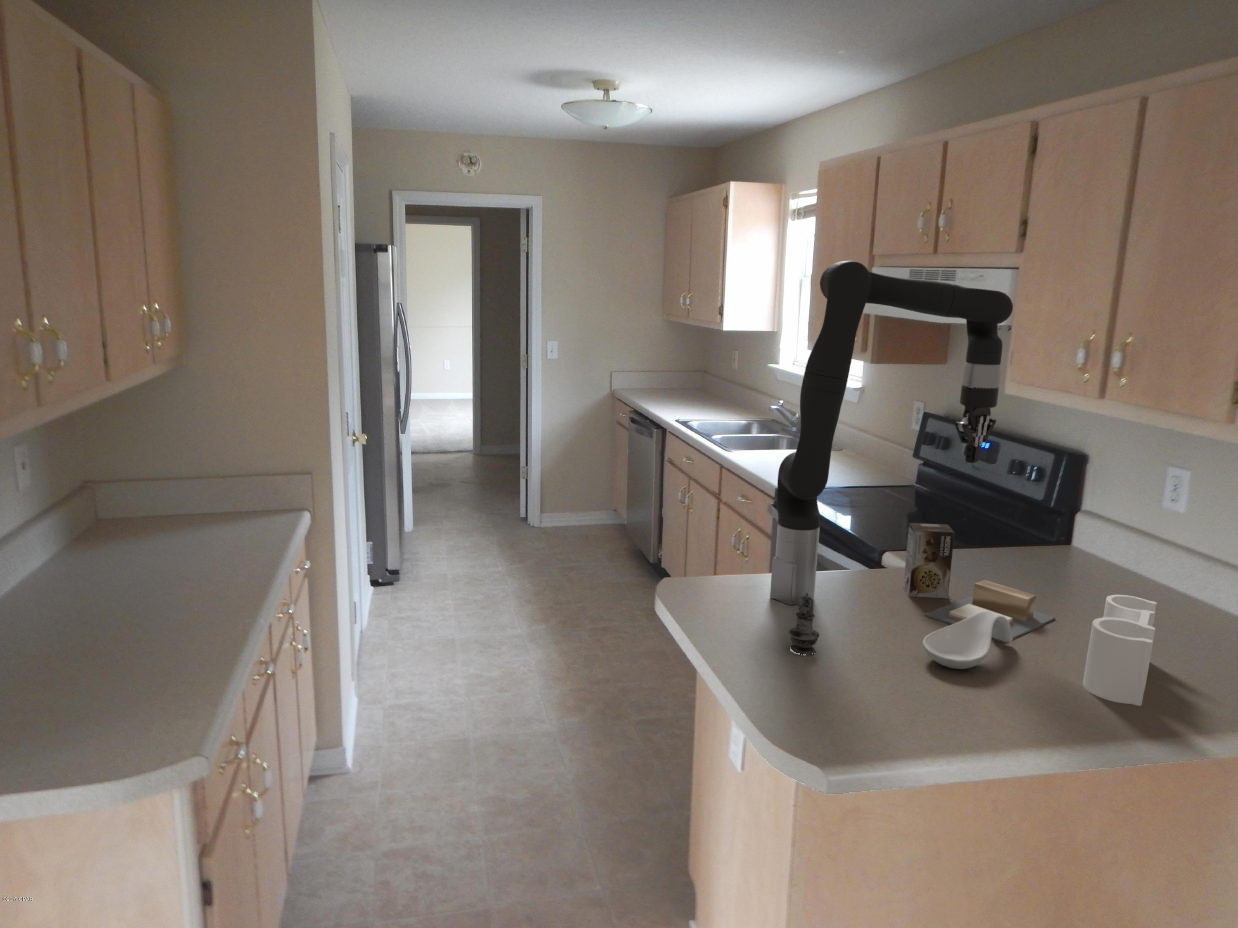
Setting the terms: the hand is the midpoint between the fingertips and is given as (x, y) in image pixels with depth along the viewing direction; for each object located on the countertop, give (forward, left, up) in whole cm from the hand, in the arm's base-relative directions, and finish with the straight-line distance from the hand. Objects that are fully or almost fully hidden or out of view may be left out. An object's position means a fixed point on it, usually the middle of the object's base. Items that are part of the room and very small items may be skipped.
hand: (971, 462), depth 196 cm
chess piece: (-50, +3, -33) cm, 60 cm away
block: (+2, -10, -32) cm, 34 cm away
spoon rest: (-25, -18, -32) cm, 45 cm away
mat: (-3, -10, -32) cm, 34 cm away
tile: (-7, -10, -32) cm, 34 cm away
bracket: (-10, -39, -33) cm, 52 cm away
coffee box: (-1, +7, -33) cm, 33 cm away
